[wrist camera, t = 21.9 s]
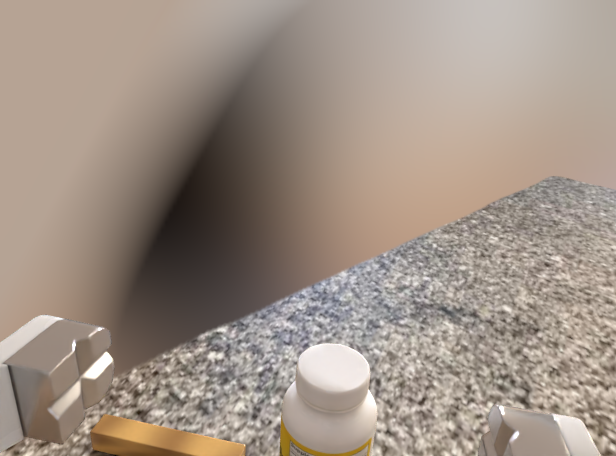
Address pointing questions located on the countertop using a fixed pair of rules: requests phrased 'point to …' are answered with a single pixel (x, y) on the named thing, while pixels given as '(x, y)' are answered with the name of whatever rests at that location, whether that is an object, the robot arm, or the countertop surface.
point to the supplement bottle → (329, 405)
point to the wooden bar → (155, 440)
